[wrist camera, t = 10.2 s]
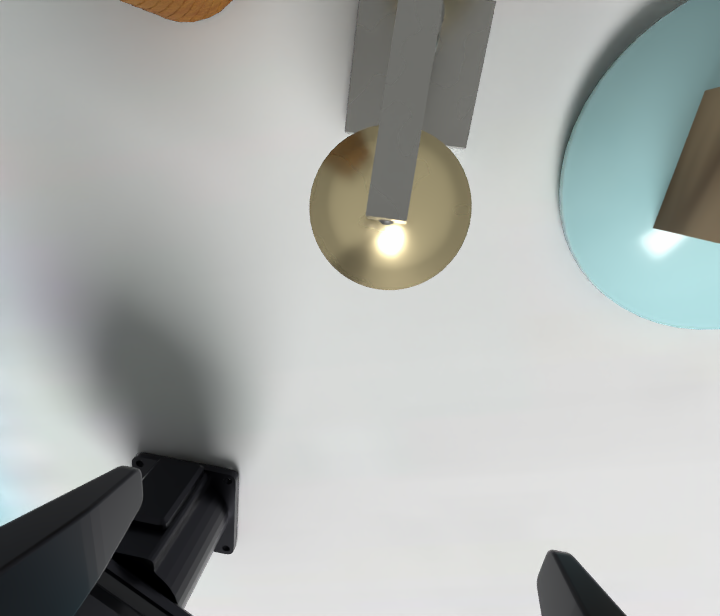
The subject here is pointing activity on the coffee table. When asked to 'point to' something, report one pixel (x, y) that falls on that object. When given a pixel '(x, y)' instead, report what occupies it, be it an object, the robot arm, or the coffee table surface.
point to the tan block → (696, 178)
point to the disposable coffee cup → (181, 8)
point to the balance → (403, 143)
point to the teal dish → (644, 173)
